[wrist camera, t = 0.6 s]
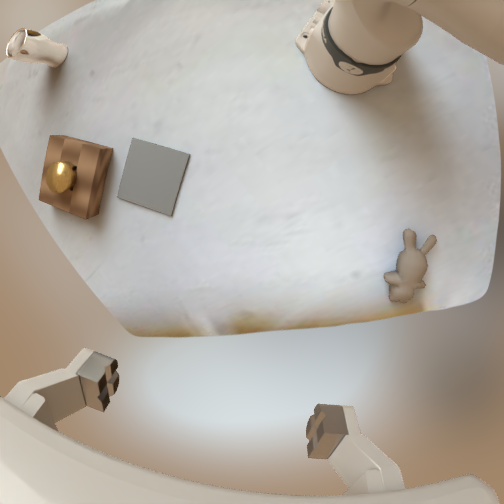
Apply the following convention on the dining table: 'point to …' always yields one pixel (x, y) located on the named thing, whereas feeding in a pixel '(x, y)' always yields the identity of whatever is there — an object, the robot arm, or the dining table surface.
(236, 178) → the dining table surface
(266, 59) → the dining table surface
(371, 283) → the dining table surface
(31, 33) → the beer glass
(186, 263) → the dining table surface
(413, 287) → the bunny figurine
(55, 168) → the brass knob
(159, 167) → the rubber mat
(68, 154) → the walnut block
